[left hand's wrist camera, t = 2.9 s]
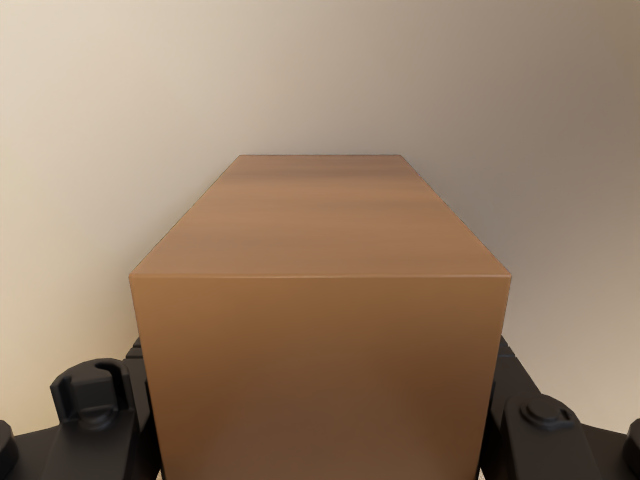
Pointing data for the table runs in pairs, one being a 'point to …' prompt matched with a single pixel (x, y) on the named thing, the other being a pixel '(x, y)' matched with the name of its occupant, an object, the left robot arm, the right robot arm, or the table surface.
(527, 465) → the left robot arm
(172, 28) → the table surface
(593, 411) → the table surface
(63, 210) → the table surface
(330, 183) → the bar
